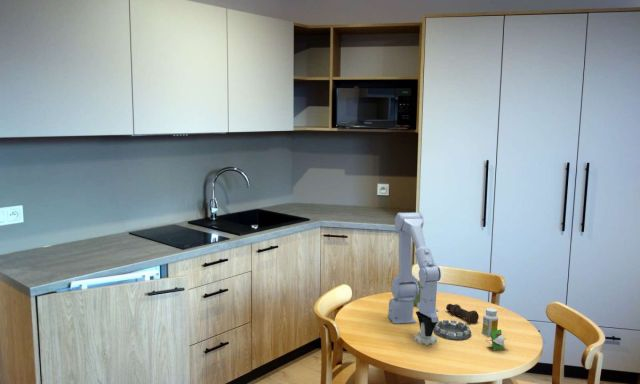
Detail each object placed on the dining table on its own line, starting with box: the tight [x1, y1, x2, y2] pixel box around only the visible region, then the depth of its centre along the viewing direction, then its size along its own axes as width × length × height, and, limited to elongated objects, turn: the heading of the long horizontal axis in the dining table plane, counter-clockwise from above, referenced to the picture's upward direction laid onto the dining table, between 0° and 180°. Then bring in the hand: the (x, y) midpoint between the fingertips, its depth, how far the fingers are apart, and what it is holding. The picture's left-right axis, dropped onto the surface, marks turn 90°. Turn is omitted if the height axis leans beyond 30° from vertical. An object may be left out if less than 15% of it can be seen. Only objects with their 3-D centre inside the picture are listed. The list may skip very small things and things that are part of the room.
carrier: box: [433, 319, 472, 341], centre depth 203 cm, size 14×14×2 cm
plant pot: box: [413, 281, 421, 307], centre depth 232 cm, size 9×9×9 cm
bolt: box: [445, 303, 479, 325], centre depth 218 cm, size 6×5×15 cm
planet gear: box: [413, 322, 438, 346], centre depth 195 cm, size 8×8×6 cm
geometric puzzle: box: [485, 329, 505, 351], centre depth 190 cm, size 7×7×8 cm
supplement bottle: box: [481, 307, 499, 337], centre depth 202 cm, size 5×5×10 cm
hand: (425, 333), depth 195 cm, fingers closed on planet gear, 4 cm apart
